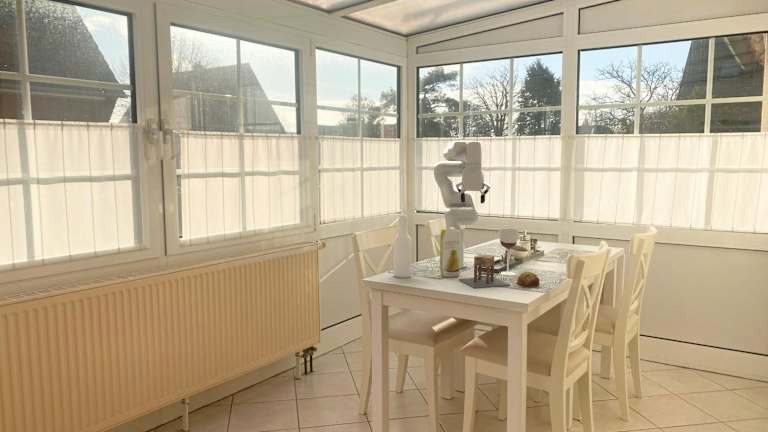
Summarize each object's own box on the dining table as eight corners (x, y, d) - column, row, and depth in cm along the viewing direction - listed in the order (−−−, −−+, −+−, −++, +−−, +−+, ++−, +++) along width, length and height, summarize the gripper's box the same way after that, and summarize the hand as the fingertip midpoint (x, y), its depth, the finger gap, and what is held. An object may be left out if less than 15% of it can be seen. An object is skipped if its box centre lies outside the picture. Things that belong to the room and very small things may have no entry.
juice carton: (444, 277, 274) (444, 228, 271) (438, 274, 281) (438, 226, 278) (461, 276, 276) (462, 228, 273) (455, 273, 284) (456, 225, 281)
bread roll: (517, 290, 265) (510, 275, 263) (537, 280, 265) (530, 265, 264) (524, 295, 255) (517, 280, 254) (544, 285, 255) (538, 270, 254)
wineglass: (517, 275, 279) (519, 231, 276) (497, 274, 281) (499, 230, 278) (517, 272, 287) (518, 229, 285) (497, 271, 289) (499, 228, 287)
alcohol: (391, 277, 274) (391, 215, 271) (396, 273, 283) (397, 213, 279) (408, 278, 271) (408, 216, 268) (413, 274, 280) (414, 214, 276)
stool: (473, 282, 262) (474, 256, 260) (478, 279, 268) (479, 254, 267) (488, 284, 258) (489, 258, 257) (493, 280, 264) (494, 255, 263)
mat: (458, 280, 269) (458, 278, 269) (492, 277, 274) (492, 276, 274) (473, 288, 252) (474, 287, 252) (510, 285, 257) (510, 284, 257)
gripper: (453, 166, 271) (453, 202, 273) (488, 167, 263) (487, 204, 265) (459, 166, 278) (458, 201, 280) (493, 167, 269) (492, 202, 271)
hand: (472, 202), depth 272 cm, fingers open, 9 cm apart
